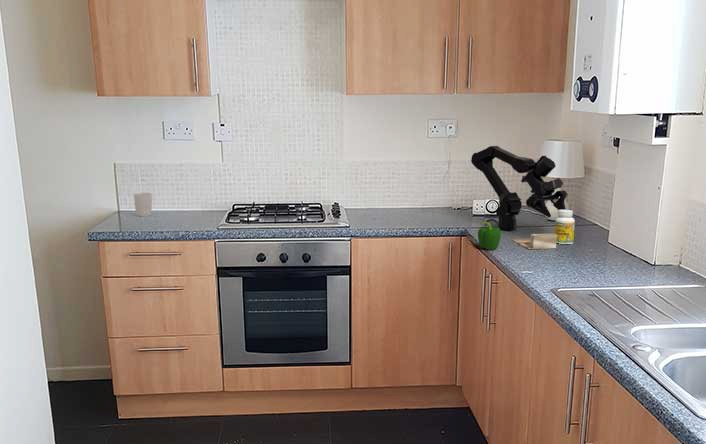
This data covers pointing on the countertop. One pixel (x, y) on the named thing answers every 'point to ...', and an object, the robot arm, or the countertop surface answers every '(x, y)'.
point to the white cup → (143, 204)
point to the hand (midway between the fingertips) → (558, 215)
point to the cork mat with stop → (538, 241)
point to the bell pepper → (489, 237)
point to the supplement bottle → (564, 227)
